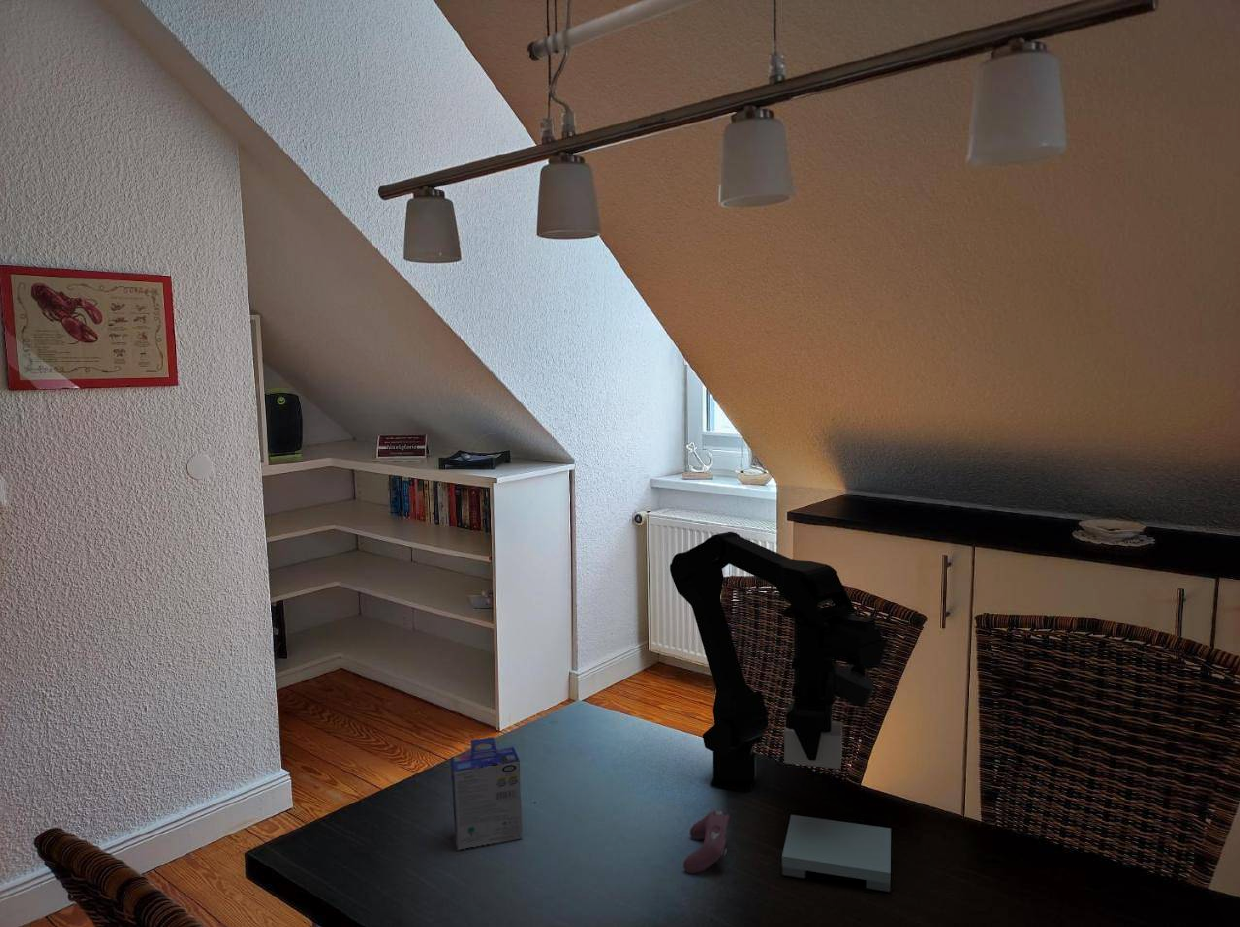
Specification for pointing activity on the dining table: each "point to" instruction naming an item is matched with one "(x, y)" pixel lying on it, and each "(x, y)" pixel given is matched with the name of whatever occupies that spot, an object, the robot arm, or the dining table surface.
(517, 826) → the ink cartridge box
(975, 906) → the dining table surface
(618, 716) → the dining table surface
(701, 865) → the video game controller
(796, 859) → the teal stand
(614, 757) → the dining table surface
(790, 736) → the grey housing
